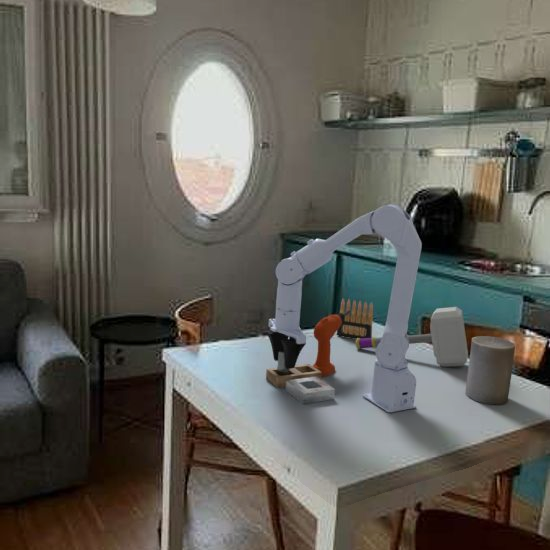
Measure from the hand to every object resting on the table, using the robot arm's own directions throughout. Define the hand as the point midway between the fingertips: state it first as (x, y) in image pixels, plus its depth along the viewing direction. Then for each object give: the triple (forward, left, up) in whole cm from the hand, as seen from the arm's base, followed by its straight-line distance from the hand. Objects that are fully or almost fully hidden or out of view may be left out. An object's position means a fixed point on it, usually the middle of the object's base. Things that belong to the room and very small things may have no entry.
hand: (284, 364), depth 134 cm
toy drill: (+5, -17, -5) cm, 18 cm away
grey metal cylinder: (0, 0, -4) cm, 4 cm away
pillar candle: (-24, -42, -5) cm, 49 cm away
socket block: (-9, -2, -4) cm, 10 cm away
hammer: (+5, -43, -5) cm, 44 cm away
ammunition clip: (+25, -39, -5) cm, 47 cm away
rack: (0, -3, -4) cm, 5 cm away
